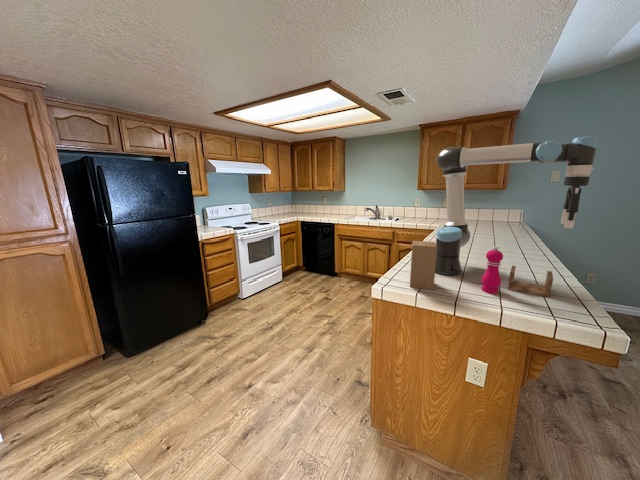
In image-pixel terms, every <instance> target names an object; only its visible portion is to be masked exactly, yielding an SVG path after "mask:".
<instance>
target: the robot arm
mask: <svg viewBox="0 0 640 480" xmlns="http://www.w3.org/2000/svg"><path fill="white" fill-rule="evenodd" d="M598 141H599V138H598V137H597V136H592V135H590V136H589V135H587V136H580V137H574V138H573V139H572V141H571V142H569V143H560V142H559V141H557V140H546V141H542V142H531V143H530V142H529V143H520V144H519V143H518V144H508V145H507V144H506V145H497V146H496V145H495V146H486V147H485V146H484V147H475V148H473V147H471V148H467V147H465V146H458V147H454V146H453V147H452V146H449V147H445V148H443V149H442V150H440V152H439V153H438V155H437V157H436V164H437V166H438V167H439V169H441V170H442V176H443V177H444V178H445V186H446V187H445V191H446V192H445V193H446V194H445V195H446V217H447V218H446V222H445V223H444V226H442V227H439V228H438V229H437V231H436V236H435V238H436V240H435V243H436V246H437V255H436V267H435V274H437V275H442V276H451V277H452V276H453V277H454V276H460V275H461V274H462V271H463V270H462V269H463V268H462V265H461V261H460V254H461V248H462V247H464V246H465V245H466V244H468V243H469V241H470V238H471V232H470V231H469V223H468V222H467V221H466V220H465V186H464V185H465V184H464V183H465V182H464V181H465V179H464V178H465V177H464V176H466V174H467V172H468V170H467V169H468V166H474V165H475V166H477V165H478V166H479V165H494V164H495V165H496V164H516V163H535V164H537V163H538V164H545V163H566V162H567V165H566V170H565V177H564V180H563V185H564V186H569V187H568V188H567V191H566V195H565V200H564V204H563V211H562V214H561V215H562V216H561V220H560V224H562V225H563V224H564V225H563V229H574V225H575V221H576V216H577V212H578V211H579V204H580V197H581V194H582V188H581V187H582V186H583V187H585V186H586V187H587V186H589V182H590V179H591V178H590V175H591V174H592V171H594V170H595V168H594V167H593V164H594V160H595V157H596V152H597V149H598Z"/></svg>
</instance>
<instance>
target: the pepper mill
mask: <svg viewBox="0 0 640 480" xmlns="http://www.w3.org/2000/svg"><path fill="white" fill-rule="evenodd" d="M485 258H486V259H487V260H486V265H487V268H486V270H485V272H484V274H483V275H482V276H481V279H480V280H481V283H482V285H481V291H482V292H484V293H488V294H493V295H494V294H498V293H499V287H500V286H501V285H502V279H501V276H500V273H499V269H500V266H501V263H502V262H501V261H502V260H503V259H504V255H503V252H501V251H500V250H499V247H498V246H493V247H492V250H489V251H487V253H486V255H485Z"/></svg>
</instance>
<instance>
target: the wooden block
mask: <svg viewBox="0 0 640 480" xmlns="http://www.w3.org/2000/svg"><path fill="white" fill-rule="evenodd" d="M436 255H437V246H436V241H425V240H421V241H420V240H413V241H412V244H411V260H410V274H409V275H410V276H409V287H410V288H415V289H424V290H431V291H432V290H434V287H435V279H436V276H435V275H436V273H435V267H436Z"/></svg>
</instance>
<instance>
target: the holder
mask: <svg viewBox="0 0 640 480" xmlns="http://www.w3.org/2000/svg"><path fill="white" fill-rule="evenodd" d="M516 268H517V267H516V265H511V268H510V271H509V272H510V273H509V279H508V286H507V290H510V291H514V292H519V293H524V294H528V295H529V294H530V295H534V296H540V297H543V298H544V297H545V298H551V297H550V296H551V293H552V287H553V283H554V277H553V276H554V275H553V271H550V270H547V272H546V277H545V278H546V279H545V284H544V285H541V284H536V283H531V282H526V281H519V280H515V275H516V274H515V273H516Z"/></svg>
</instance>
